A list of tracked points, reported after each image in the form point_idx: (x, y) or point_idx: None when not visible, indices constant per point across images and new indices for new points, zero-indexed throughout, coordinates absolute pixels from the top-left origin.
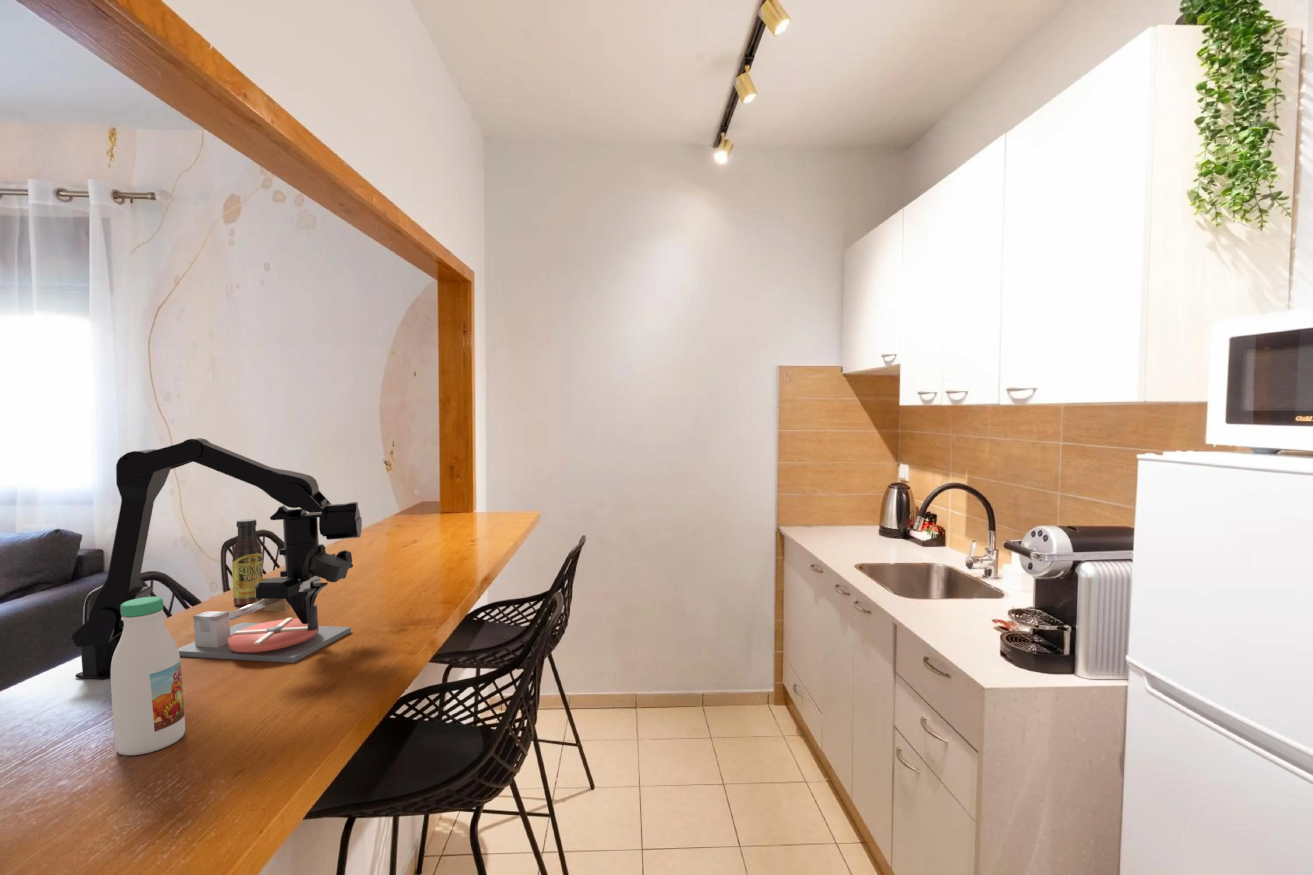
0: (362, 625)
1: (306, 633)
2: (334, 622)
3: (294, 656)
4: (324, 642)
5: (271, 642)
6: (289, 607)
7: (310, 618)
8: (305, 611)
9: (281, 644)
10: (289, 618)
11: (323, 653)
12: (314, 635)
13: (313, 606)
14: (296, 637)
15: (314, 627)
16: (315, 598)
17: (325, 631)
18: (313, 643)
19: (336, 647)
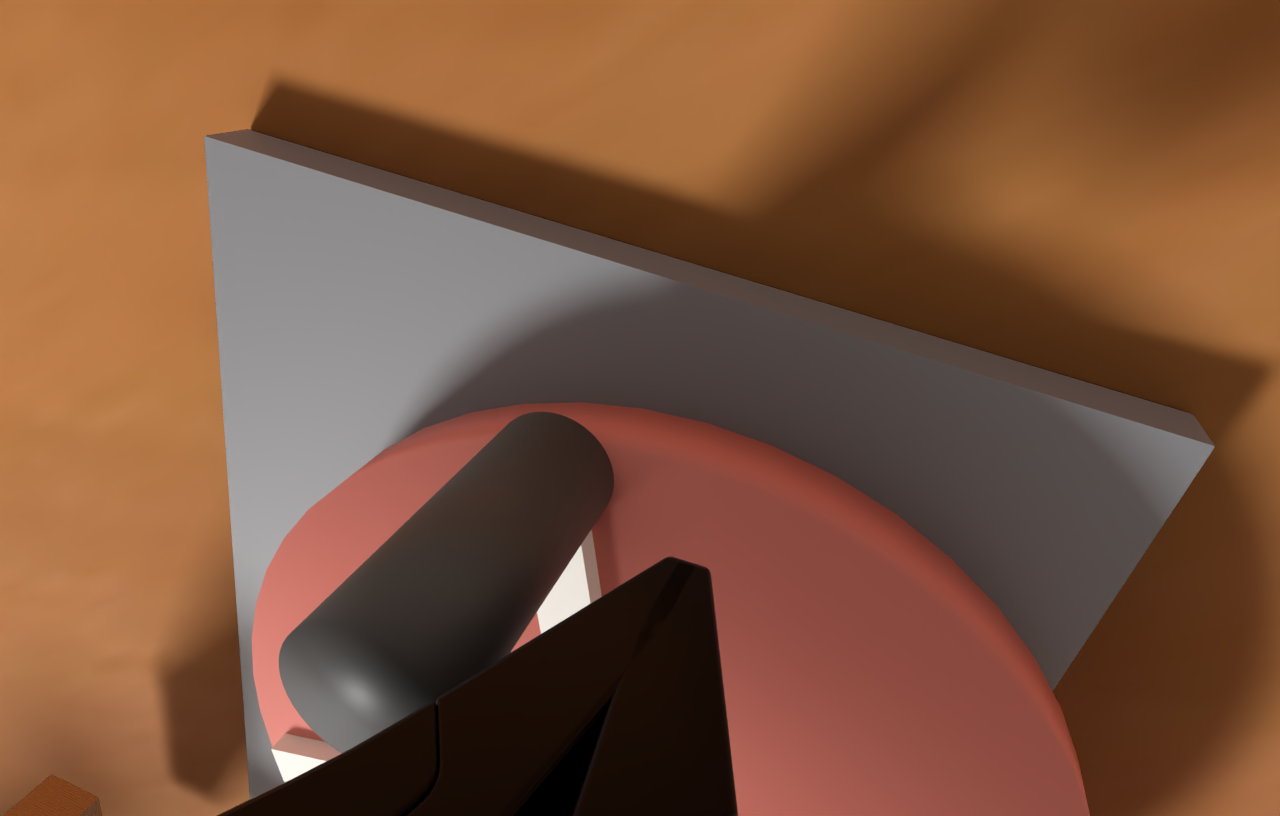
0: (70, 87)
1: (733, 495)
2: (82, 404)
3: (1180, 440)
4: (644, 262)
5: (1028, 800)
6: (44, 788)
7: (545, 574)
8: (728, 757)
9: (1029, 680)
10: (299, 765)
11: (918, 158)
12: (620, 407)
13: (366, 670)
14: (891, 574)
15: (582, 452)
16: (302, 797)
17: (351, 374)
18: (710, 369)
19: (715, 73)
